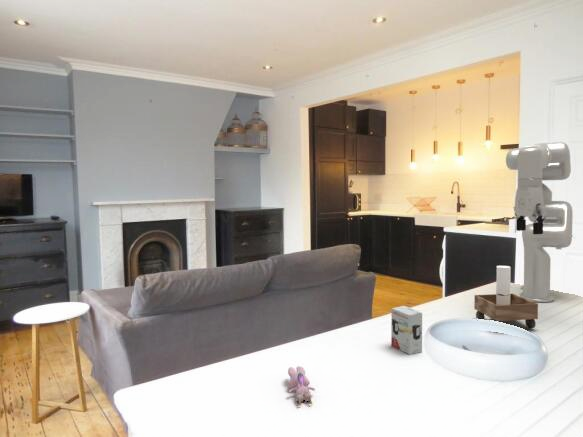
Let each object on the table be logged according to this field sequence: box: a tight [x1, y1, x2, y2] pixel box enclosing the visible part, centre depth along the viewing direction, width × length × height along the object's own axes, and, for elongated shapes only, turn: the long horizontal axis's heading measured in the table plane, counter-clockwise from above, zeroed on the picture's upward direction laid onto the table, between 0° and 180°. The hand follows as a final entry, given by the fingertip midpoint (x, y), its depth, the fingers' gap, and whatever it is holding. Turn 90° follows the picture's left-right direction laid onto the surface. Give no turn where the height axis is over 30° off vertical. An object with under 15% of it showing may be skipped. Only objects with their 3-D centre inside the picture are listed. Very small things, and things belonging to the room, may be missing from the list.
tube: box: [495, 265, 512, 305], centre depth 144 cm, size 4×4×15 cm
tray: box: [473, 293, 539, 329], centre depth 143 cm, size 14×14×9 cm
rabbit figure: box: [287, 366, 316, 406], centre depth 100 cm, size 6×6×15 cm
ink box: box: [390, 305, 423, 355], centre depth 124 cm, size 9×5×12 cm, turn 25°
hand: (529, 232), depth 149 cm, fingers open, 9 cm apart
